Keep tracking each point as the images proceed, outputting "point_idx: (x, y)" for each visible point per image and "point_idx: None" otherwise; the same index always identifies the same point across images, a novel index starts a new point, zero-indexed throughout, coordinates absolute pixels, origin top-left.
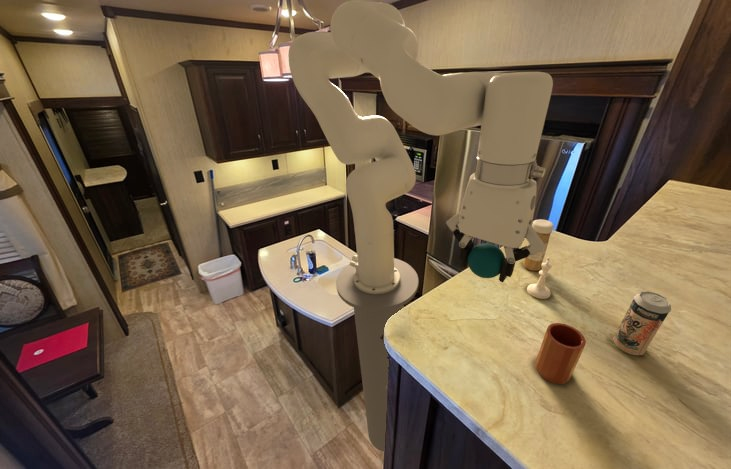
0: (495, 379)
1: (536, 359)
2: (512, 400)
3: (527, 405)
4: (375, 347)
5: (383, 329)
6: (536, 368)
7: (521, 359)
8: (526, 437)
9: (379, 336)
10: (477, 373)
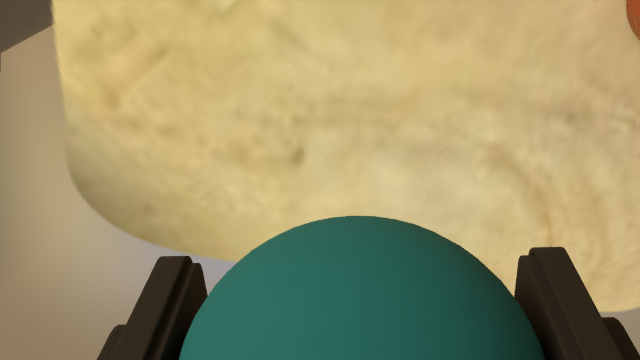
0: (501, 165)
1: (637, 15)
2: (568, 199)
3: (614, 187)
4: (46, 27)
5: (17, 29)
6: (633, 30)
7: (570, 19)
8: (621, 269)
9: (28, 32)
10: (440, 180)
